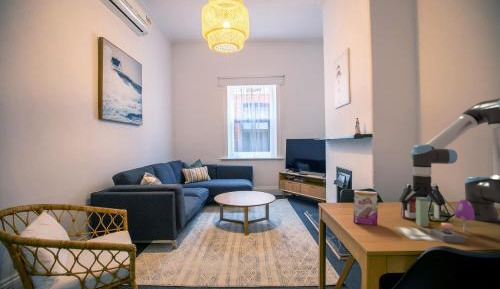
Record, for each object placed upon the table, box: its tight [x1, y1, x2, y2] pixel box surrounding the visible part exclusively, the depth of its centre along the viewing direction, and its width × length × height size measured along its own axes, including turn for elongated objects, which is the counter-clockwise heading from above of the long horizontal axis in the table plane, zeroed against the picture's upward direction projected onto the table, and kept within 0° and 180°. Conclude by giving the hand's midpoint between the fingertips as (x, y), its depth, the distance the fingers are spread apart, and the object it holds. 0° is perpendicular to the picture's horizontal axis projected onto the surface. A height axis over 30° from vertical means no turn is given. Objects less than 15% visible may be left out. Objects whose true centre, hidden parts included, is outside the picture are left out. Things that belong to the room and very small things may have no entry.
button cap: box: [440, 222, 454, 234], centre depth 99 cm, size 4×4×4 cm
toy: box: [454, 199, 475, 232], centre depth 108 cm, size 7×7×15 cm
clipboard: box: [392, 226, 459, 244], centre depth 104 cm, size 20×16×1 cm
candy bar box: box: [353, 189, 379, 227], centre depth 120 cm, size 11×5×16 cm, turn 65°
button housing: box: [430, 228, 466, 244], centre depth 99 cm, size 8×8×2 cm
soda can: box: [400, 197, 416, 220], centre depth 129 cm, size 7×7×12 cm
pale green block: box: [415, 196, 429, 227], centre depth 116 cm, size 4×4×14 cm
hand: (421, 217), depth 116 cm, fingers open, 13 cm apart
